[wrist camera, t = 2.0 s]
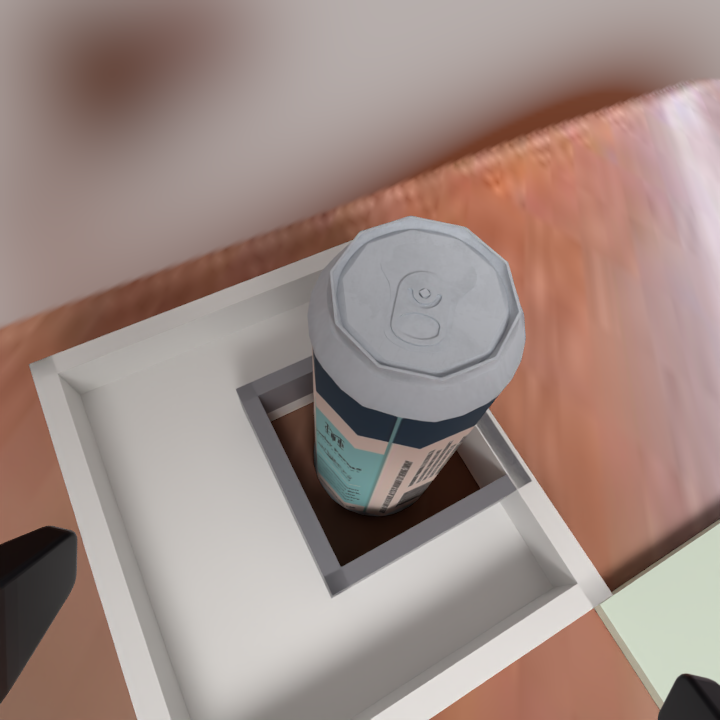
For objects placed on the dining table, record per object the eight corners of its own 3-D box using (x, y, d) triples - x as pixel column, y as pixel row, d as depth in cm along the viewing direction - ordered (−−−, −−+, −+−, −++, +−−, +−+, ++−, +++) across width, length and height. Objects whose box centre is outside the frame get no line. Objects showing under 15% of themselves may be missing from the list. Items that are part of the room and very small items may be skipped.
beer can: (440, 416, 23) (548, 226, 12) (422, 531, 20) (536, 426, 10) (328, 391, 23) (335, 182, 12) (300, 503, 21) (277, 370, 10)
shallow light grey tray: (573, 598, 20) (612, 594, 17) (209, 839, 16) (187, 883, 13) (366, 274, 25) (371, 232, 23) (64, 396, 22) (28, 364, 19)
